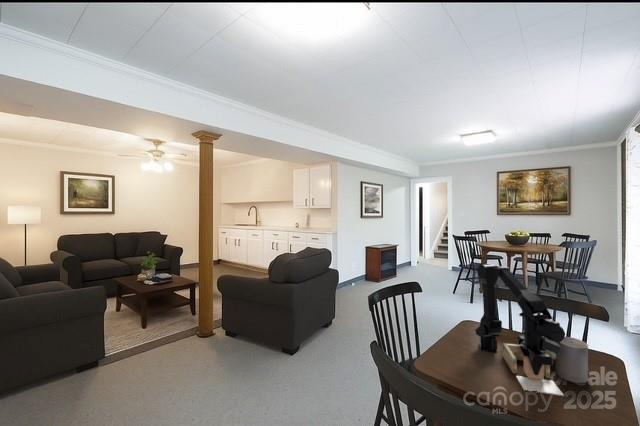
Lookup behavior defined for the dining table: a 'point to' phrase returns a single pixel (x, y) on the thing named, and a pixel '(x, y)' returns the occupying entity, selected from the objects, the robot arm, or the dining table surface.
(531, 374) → the terracotta block
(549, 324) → the robot arm
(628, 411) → the dining table surface
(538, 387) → the cream mat
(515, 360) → the open front box
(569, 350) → the pillar candle
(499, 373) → the dining table surface
